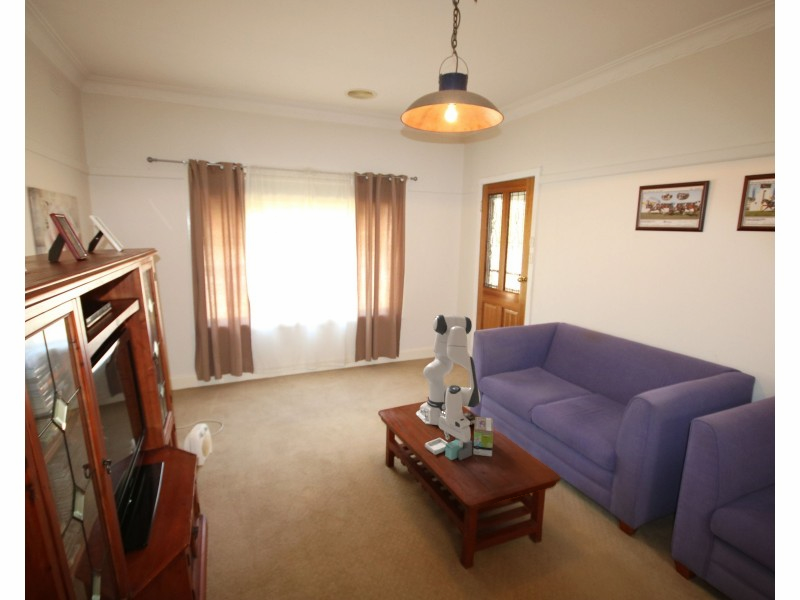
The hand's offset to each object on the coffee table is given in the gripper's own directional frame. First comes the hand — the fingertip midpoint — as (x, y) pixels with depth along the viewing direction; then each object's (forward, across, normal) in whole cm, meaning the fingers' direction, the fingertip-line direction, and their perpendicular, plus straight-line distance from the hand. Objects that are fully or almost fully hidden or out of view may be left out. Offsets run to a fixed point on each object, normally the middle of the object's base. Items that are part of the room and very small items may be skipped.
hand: (453, 442), depth 205 cm
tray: (+8, -12, -1) cm, 14 cm away
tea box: (+9, +3, +19) cm, 21 cm away
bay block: (+8, -1, +5) cm, 10 cm away
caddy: (+8, -1, +1) cm, 9 cm away
